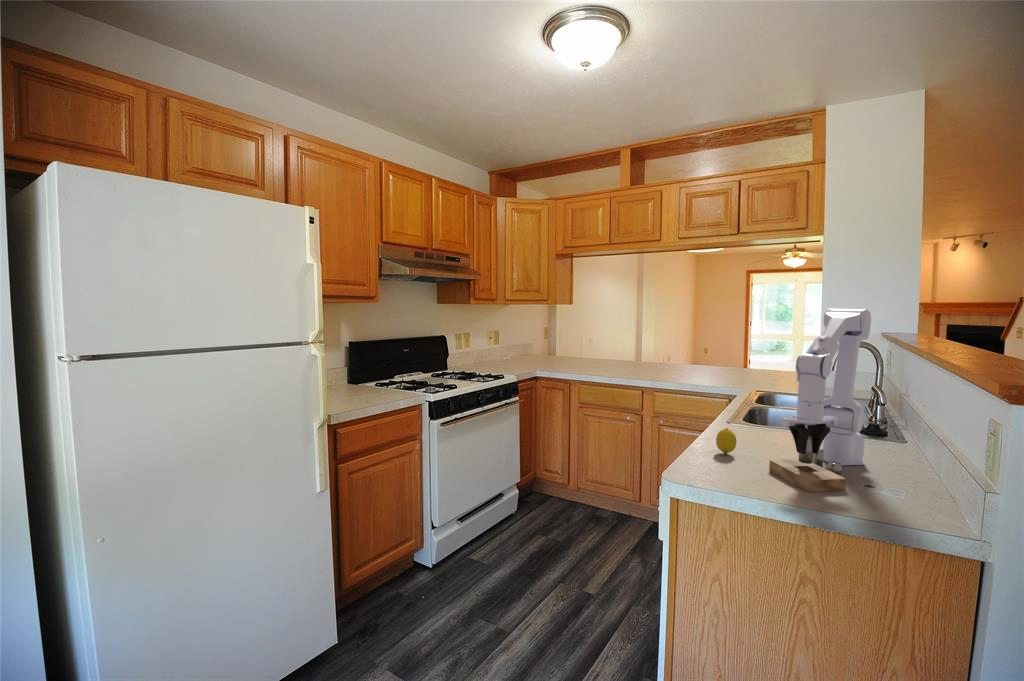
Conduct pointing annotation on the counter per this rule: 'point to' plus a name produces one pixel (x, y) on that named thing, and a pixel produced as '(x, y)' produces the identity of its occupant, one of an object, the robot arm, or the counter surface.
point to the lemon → (726, 440)
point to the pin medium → (818, 458)
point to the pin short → (835, 467)
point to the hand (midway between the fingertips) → (807, 452)
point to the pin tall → (807, 452)
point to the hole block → (808, 475)
